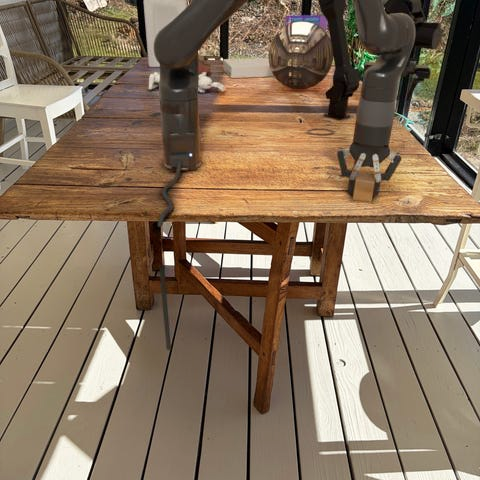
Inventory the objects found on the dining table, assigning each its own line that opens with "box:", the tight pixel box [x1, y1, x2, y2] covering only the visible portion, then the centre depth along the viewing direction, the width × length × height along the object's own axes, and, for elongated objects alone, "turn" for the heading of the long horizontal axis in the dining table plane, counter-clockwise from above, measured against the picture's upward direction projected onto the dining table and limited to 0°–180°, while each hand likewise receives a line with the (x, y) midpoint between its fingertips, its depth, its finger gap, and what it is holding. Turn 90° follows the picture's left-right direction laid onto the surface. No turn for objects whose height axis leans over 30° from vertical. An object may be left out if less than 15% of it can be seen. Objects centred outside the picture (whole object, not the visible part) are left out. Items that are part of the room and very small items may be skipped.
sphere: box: [268, 21, 334, 91], centre depth 185 cm, size 25×25×25 cm
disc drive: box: [222, 57, 275, 79], centre depth 214 cm, size 18×22×5 cm
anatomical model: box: [198, 53, 212, 76], centre depth 208 cm, size 13×9×15 cm
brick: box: [352, 171, 375, 203], centre depth 107 cm, size 5×4×5 cm
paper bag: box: [143, 0, 189, 68], centre depth 223 cm, size 19×15×28 cm
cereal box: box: [284, 14, 328, 32], centre depth 210 cm, size 17×5×24 cm, turn 106°
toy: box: [148, 71, 227, 94], centre depth 184 cm, size 24×25×7 cm
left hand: (362, 194), depth 108 cm, fingers closed on brick, 4 cm apart
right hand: (391, 99), depth 145 cm, fingers open, 9 cm apart
